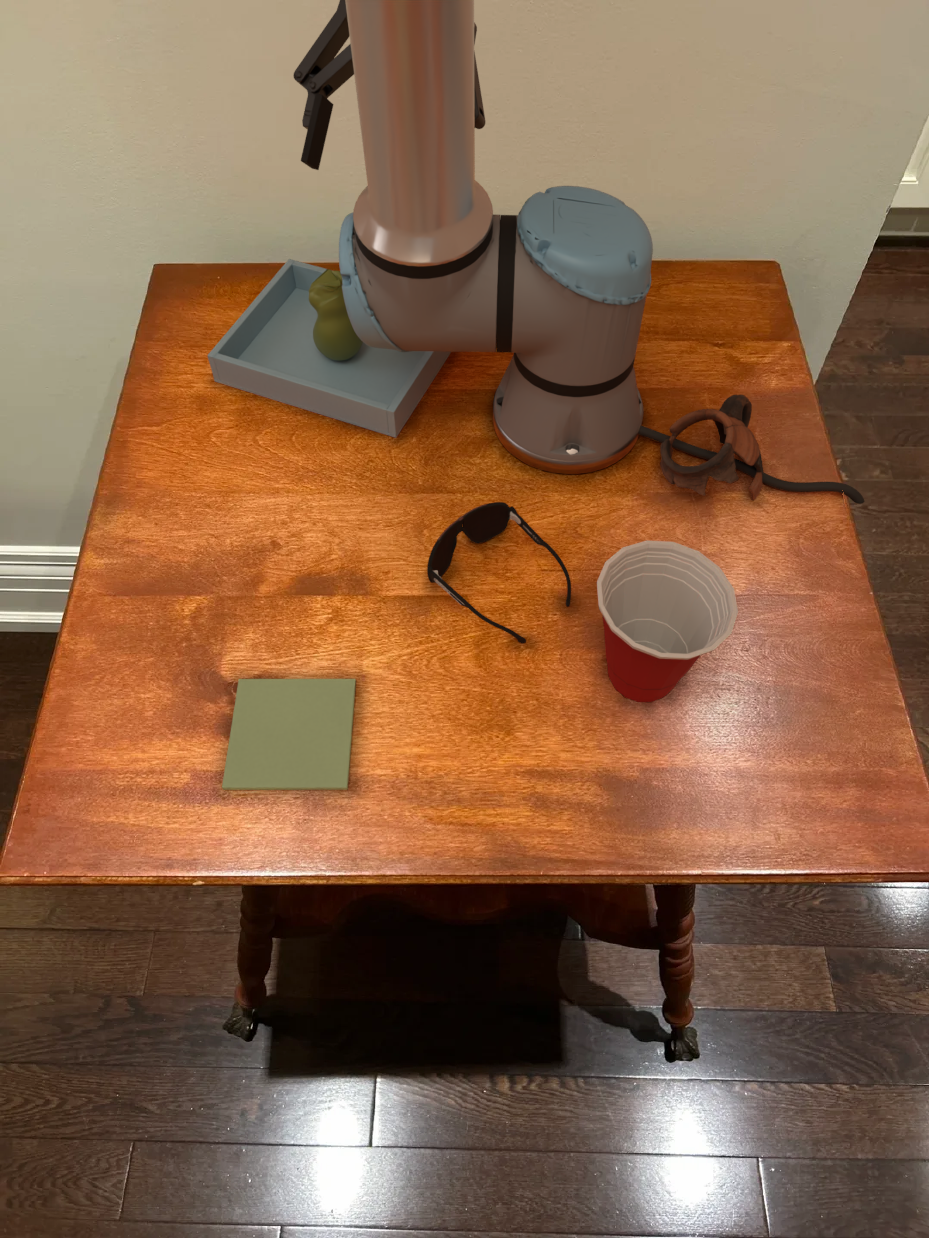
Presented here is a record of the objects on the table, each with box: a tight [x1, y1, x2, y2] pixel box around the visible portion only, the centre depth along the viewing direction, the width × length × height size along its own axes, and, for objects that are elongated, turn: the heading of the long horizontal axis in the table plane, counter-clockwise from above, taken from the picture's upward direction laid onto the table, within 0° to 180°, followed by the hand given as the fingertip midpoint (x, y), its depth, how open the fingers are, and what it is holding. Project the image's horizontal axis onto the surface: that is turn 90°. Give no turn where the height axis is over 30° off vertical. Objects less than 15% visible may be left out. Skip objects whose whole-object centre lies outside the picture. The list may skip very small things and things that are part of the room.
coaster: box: [221, 678, 357, 791], centre depth 79 cm, size 10×10×1 cm
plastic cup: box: [596, 540, 739, 703], centre depth 77 cm, size 11×11×12 cm
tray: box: [207, 258, 452, 439], centre depth 103 cm, size 22×18×4 cm
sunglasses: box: [426, 501, 572, 644], centre depth 85 cm, size 10×12×5 cm
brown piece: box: [659, 394, 764, 501], centre depth 93 cm, size 12×10×8 cm
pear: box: [309, 268, 363, 361], centre depth 100 cm, size 6×5×10 cm
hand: (368, 181), depth 97 cm, fingers open, 13 cm apart
